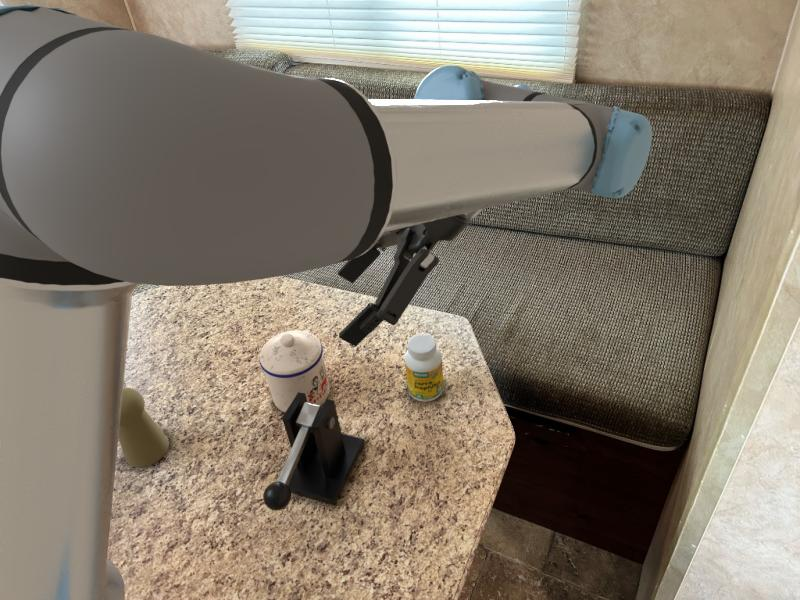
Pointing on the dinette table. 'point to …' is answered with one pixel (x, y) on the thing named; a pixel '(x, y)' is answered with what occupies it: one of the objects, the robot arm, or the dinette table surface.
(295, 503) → the dinette table surface
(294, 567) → the dinette table surface
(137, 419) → the olive green pawn
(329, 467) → the black lever base
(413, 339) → the supplement bottle
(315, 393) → the teacup with lid
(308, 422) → the lever with black knob
